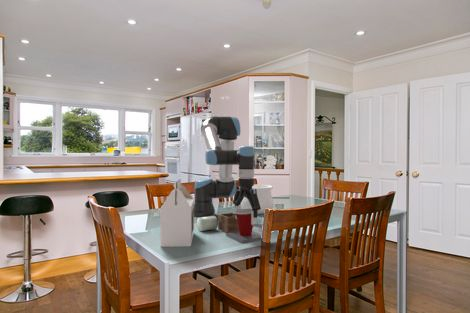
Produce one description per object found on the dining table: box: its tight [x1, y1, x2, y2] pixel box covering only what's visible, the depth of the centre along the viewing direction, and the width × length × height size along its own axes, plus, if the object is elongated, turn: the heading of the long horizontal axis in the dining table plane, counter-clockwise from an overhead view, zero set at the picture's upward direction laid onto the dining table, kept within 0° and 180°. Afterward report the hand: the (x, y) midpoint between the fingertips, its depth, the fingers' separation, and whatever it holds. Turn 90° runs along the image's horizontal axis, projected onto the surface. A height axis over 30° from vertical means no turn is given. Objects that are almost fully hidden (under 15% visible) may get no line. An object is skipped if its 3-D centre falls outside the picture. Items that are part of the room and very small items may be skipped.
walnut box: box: [217, 212, 239, 234], centre depth 165 cm, size 9×9×8 cm
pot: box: [239, 183, 275, 215], centre depth 217 cm, size 26×24×18 cm
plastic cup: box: [234, 209, 254, 236], centre depth 152 cm, size 11×11×12 cm
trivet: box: [225, 230, 262, 244], centre depth 152 cm, size 14×14×1 cm
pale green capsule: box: [196, 215, 218, 232], centre depth 165 cm, size 9×7×7 cm
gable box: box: [160, 178, 195, 248], centre depth 147 cm, size 22×13×28 cm, turn 4°
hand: (245, 221), depth 152 cm, fingers open, 13 cm apart
